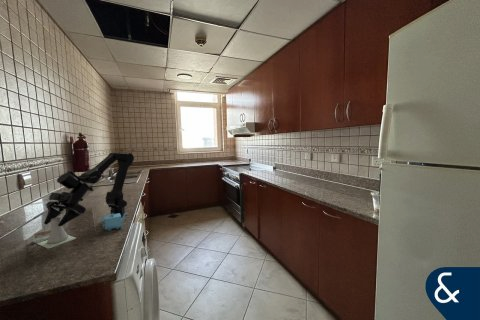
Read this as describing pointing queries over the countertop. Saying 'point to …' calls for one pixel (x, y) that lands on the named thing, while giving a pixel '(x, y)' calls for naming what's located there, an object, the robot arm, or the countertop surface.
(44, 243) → the pad
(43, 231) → the rod
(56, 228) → the flask
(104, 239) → the countertop surface
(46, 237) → the cradle
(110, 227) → the teapot
